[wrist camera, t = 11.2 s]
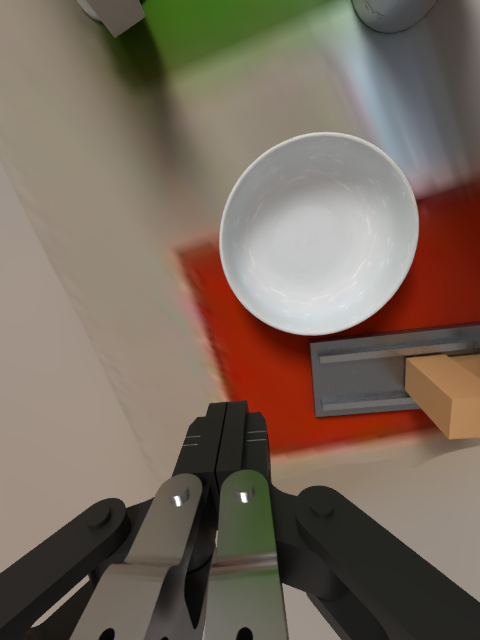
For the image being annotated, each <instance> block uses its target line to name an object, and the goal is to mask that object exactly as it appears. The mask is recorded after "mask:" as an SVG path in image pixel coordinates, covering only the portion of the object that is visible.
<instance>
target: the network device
mask: <svg viewBox="0 0 480 640" xmlns="http://www.w3.org/2000/svg"><path fill="white" fill-rule="evenodd" d="M139 1H140V0H77V2H78V3H79V5H80V6H81V7H82V9H83V10H84V11H85V12H86V13H87V14H88V15H89V16H90V17H92V18H93V19H96V20H98V21H102V22H103V24H104V25H105V26H106V28H107V29H108V30H109V32H110V33H111V34H112V35H113V37H114V38H116V37H117V36H119V35H120V34H122V33H123V32H125V31H126V30H127V29H129V28H130V27H132V26H133V25H135V24H136V23H137V22H139V21H140V20H142V19H143V18H145V17H146V16H145V13H144V11H143V9H142V6H141V4H140V2H139Z"/></svg>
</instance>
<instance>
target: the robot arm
mask: <svg viewBox="0 0 480 640" xmlns="http://www.w3.org/2000/svg"><path fill="white" fill-rule="evenodd" d="M436 1H437V0H352V2H353V5H354V8H355V10H356V12H357V14H358V16H359V17H360V19H361V20H362V21H363V22H364V23H365V24H366V25H367V26H369V27H370V28H372V29H374V30H376V31H379V32H383V33H394V32H399V31H403V30H405V29H407V28H409V27H411V26H413V25H414V24H416V23H417V22H418V21H419V20H421V19H422V18H423V17H424V16H425V15H426V14H427V12H428V11H429V10H430V9H431V8H432V6H433V5H434V4H435V3H436ZM217 530H218V540H217V547H216V543H215V538H216V531H217ZM87 575H88V576H89V579H90V580H89V581H88V582H87V583H86V584H85V585H84V586H83V587H82V588H80V589H79V590H78V591H77V592H76V593H75V594H74V595H73V596H72V597H71V598H70V599H69V600H67V601H66V602H65V603H64V604H63V605H62V606H61V607H60V608H59V609H57V611H55V612H54V613H53V614H52V615H51V616H50V617H49V618H48V619H47V620H45V621H44V622H43V623H41V624H40V625H38V626H36V627H32V628H30V627H31V626H32V625H33V624H34V623H35V621H37V620H38V619H39V618H40V617H41V616H42V615H43V614H44V613H45V612H46V611H47V610H49V609H50V608H51V607H52V606H53V605H54V604H55V603H56V602H58V601H59V600H60V599H61V598H62V597H63V596H64V595H65V594H67V593H68V592H69V591H70V590H71V589H72V588H73V587H74V586H75V585H76V584H77V583H79V582H80V581H81V580H82V579H83V578H84V577H85V576H87ZM282 583H284V584H286V585H289V586H292V587H294V588H297V589H300V590H302V591H304V592H306V594H307V596H308V597H309V599H310V600H311V602H312V603H313V604H314V606H315V607H316V608H317V609H318V611H319V612H320V613H321V614H322V616H323V617H324V618H325V619H326V621H327V622H328V623H329V624H330V626H331V627H332V628H333V629H334V631H335V632H336V633H337V634H338V636H339V637H340V638H341V639H342V640H480V602H478V601H477V600H476V599H475V598H473V597H472V596H471V595H469V594H468V593H467V592H466V591H464V590H463V589H462V588H460V587H459V586H458V585H457V584H455V583H454V582H452V581H451V580H450V579H449V578H448V577H446V576H445V575H444V574H443V573H441V572H440V571H439V570H437V569H436V568H435V567H434V566H432V565H431V564H430V563H428V562H427V561H426V560H424V559H423V558H422V557H420V556H419V555H418V554H417V553H416V552H414V551H413V550H412V549H410V548H409V547H408V546H407V545H405V544H404V543H403V542H401V541H400V540H399V539H398V538H396V537H395V536H394V535H393V534H391V533H390V532H389V531H387V530H386V529H385V528H384V527H382V526H381V525H380V524H378V523H377V522H376V521H374V520H373V519H372V518H371V517H370V516H368V515H367V514H366V513H364V512H363V511H362V510H360V509H359V508H358V507H357V506H355V505H354V504H353V503H351V502H350V501H349V500H348V499H346V498H345V497H344V496H343V495H341V494H340V493H338V492H337V491H336V490H334V489H332V488H329V487H326V486H312V487H308V488H306V489H305V490H303V491H302V492H301V493H300V494H299V495H298V496H294V495H290V494H287V493H284V492H282V491H280V490H278V489H277V488H276V487H274V486H273V485H272V483H271V464H270V448H269V441H268V434H267V426H266V420H265V418H264V417H263V416H262V414H261V413H260V412H255V413H249V410H248V404H247V401H246V400H244V401H233V402H220V403H210V404H209V407H208V410H207V414H206V417H197V418H196V419H195V420H194V422H193V423H192V424H191V425H190V426H189V429H188V432H187V435H186V438H185V440H184V443H183V446H182V449H181V452H180V455H179V457H178V460H177V463H176V466H175V469H174V472H173V475H172V477H171V478H170V479H168V480H167V481H166V482H164V483H163V484H162V485H161V487H160V488H159V490H158V491H157V493H156V495H155V497H154V498H152V499H150V500H148V501H145V502H142V503H140V504H137V505H134V506H131V507H128V508H126V507H125V504H124V503H123V501H121V500H120V499H117V498H108V499H104V500H101V501H99V502H97V503H95V504H93V505H92V506H90V507H89V508H88V509H86V510H85V511H84V512H82V513H81V514H80V515H78V516H77V517H76V518H74V519H73V520H72V521H70V522H69V523H68V524H66V525H65V526H64V527H62V528H61V529H60V530H58V531H57V532H55V533H54V534H53V535H51V536H50V537H49V538H48V539H46V540H45V541H43V542H42V543H41V544H39V545H38V546H37V547H35V548H34V549H33V550H31V551H30V552H29V553H27V554H26V555H25V556H23V557H22V558H20V559H19V560H18V561H16V562H15V563H14V564H12V565H11V566H10V567H9V568H7V569H6V570H4V571H3V572H2V573H0V640H202V637H203V630H204V625H205V636H204V640H289V636H288V635H289V634H288V627H287V619H286V611H285V604H284V596H283V588H282ZM205 620H206V623H205Z"/></svg>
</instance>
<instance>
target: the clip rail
mask: <svg viewBox="0 0 480 640" xmlns="http://www.w3.org/2000/svg"><path fill="white" fill-rule="evenodd" d="M309 348H310V361H311V374H312V387H313V400H314V412H315V416H316V417H322V416H335V415H347V414H360V413H372V412H385V411H397V410H410V409H421V408H420V406H419V405H418V404H417V403H416V402H415V401H414V400H413V399H412V397H411V396H410V395H409V394H408V393H407V392H406V391H405V374H406V358H411V357H421V356H431V355H442V354H445V355H447V356H448V357H456V356H466V355H476V354H480V322H473V323H464V324H454V325H445V326H436V327H426V328H417V329H408V330H398V331H389V332H380V333H370V334H361V335H352V336H343V337H333V338H324V339H315V340H309Z"/></svg>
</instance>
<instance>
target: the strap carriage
mask: <svg viewBox="0 0 480 640" xmlns="http://www.w3.org/2000/svg"><path fill="white" fill-rule="evenodd" d="M405 391H406V392H407V393H408V394H409V395H410V396H411V397H412V399H413V400H414V401H415V402H416V403H417V404H418V405H419V406H420V408H421V409H422V410H423V411H424V412H425V413H426V414H427V415H428V417H429V418H430V419H431V420H432V421H433V422H434V423H435V424H436V426H437V427H438V428H439V429H440V430H441V431H442V432H443V433H444V435H445V436H446V437H447V438H448V439H463V438H477V437H480V354H476V355H466V356H456V357H448V356H447V355H445V354H442V355H431V356H421V357H411V358H406V374H405Z"/></svg>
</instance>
